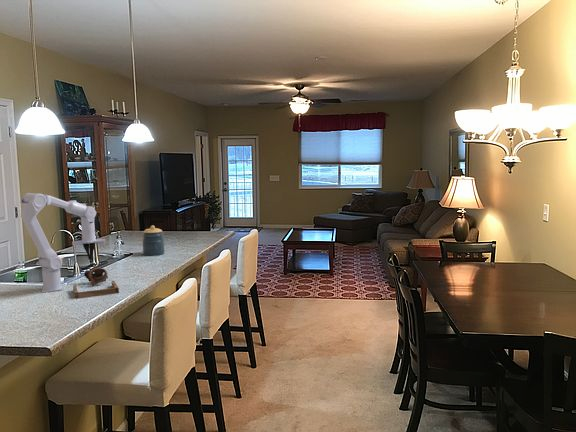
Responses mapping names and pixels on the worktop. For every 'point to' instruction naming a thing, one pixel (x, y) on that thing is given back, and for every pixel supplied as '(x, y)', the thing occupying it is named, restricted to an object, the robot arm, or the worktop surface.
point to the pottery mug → (96, 275)
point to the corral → (96, 291)
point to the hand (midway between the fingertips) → (90, 259)
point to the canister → (153, 242)
